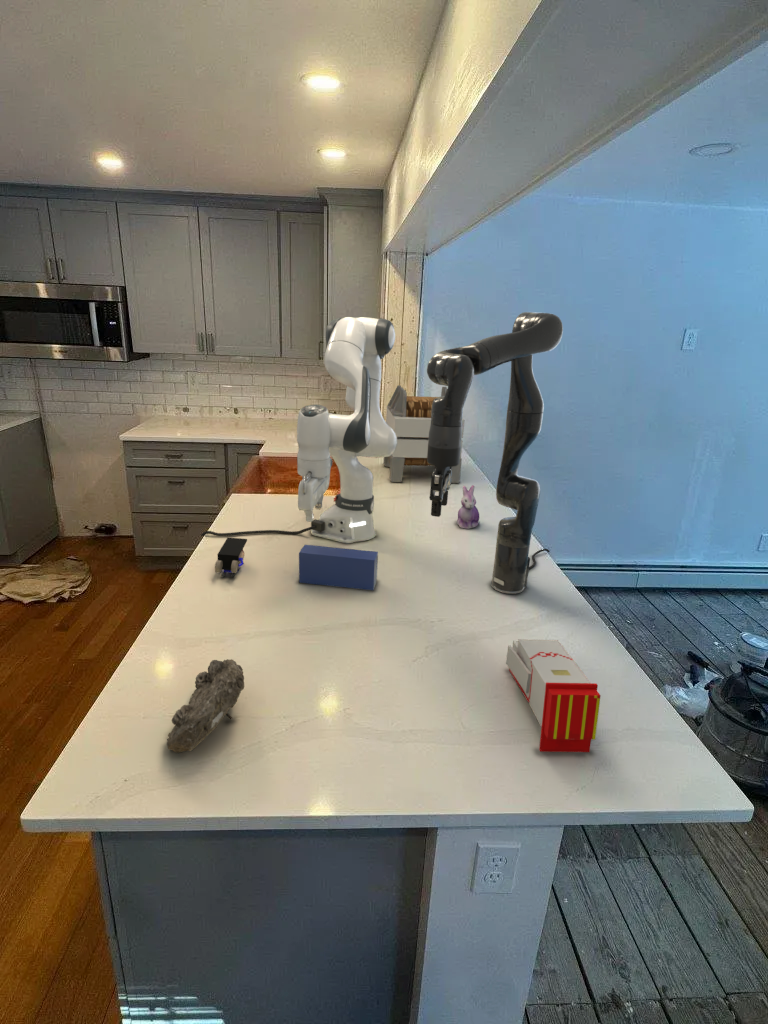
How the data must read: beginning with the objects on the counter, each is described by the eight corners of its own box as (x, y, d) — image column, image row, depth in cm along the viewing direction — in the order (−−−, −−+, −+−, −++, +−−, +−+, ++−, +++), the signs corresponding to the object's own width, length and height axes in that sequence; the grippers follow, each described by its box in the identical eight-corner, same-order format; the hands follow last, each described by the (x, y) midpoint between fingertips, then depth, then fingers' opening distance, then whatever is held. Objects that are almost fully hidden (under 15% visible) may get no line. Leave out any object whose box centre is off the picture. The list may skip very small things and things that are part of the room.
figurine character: (238, 584, 162) (249, 557, 175) (236, 562, 158) (247, 536, 172) (215, 584, 161) (227, 556, 175) (212, 561, 158) (225, 535, 171)
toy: (554, 622, 128) (610, 691, 98) (548, 677, 130) (601, 759, 101) (501, 621, 127) (541, 690, 98) (496, 676, 130) (534, 758, 101)
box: (299, 582, 162) (298, 552, 159) (304, 573, 167) (304, 544, 164) (373, 590, 159) (374, 560, 156) (376, 581, 165) (378, 551, 162)
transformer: (382, 463, 289) (386, 382, 275) (445, 464, 293) (451, 384, 279) (390, 482, 257) (394, 392, 243) (460, 483, 261) (468, 394, 247)
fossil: (192, 660, 117) (244, 628, 112) (224, 691, 120) (276, 661, 115) (142, 746, 98) (202, 712, 93) (182, 779, 101) (242, 748, 96)
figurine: (465, 531, 205) (469, 491, 200) (449, 521, 213) (452, 483, 208) (486, 527, 209) (490, 488, 204) (470, 518, 217) (473, 481, 212)
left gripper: (315, 479, 143) (315, 530, 148) (333, 457, 161) (333, 503, 166) (291, 477, 143) (292, 527, 148) (312, 456, 162) (312, 501, 167)
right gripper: (455, 452, 122) (449, 522, 128) (465, 439, 135) (459, 503, 141) (421, 448, 124) (417, 517, 130) (434, 435, 137) (429, 499, 142)
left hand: (314, 514), depth 158 cm, fingers open, 8 cm apart
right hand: (439, 510), depth 135 cm, fingers open, 8 cm apart
